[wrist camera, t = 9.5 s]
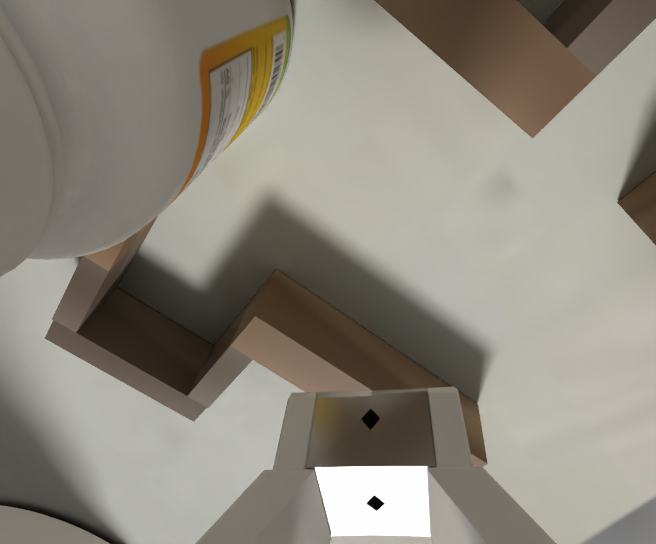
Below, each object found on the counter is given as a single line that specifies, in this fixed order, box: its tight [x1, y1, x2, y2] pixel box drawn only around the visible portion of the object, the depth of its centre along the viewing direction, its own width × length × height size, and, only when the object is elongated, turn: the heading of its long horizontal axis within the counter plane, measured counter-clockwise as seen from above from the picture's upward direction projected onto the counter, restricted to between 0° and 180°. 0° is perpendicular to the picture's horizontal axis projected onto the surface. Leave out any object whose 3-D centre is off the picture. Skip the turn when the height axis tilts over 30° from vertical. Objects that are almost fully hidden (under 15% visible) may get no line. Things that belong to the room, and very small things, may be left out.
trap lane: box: [45, 0, 656, 467], centre depth 12 cm, size 19×20×2 cm
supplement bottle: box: [0, 0, 293, 277], centre depth 8 cm, size 5×5×10 cm
